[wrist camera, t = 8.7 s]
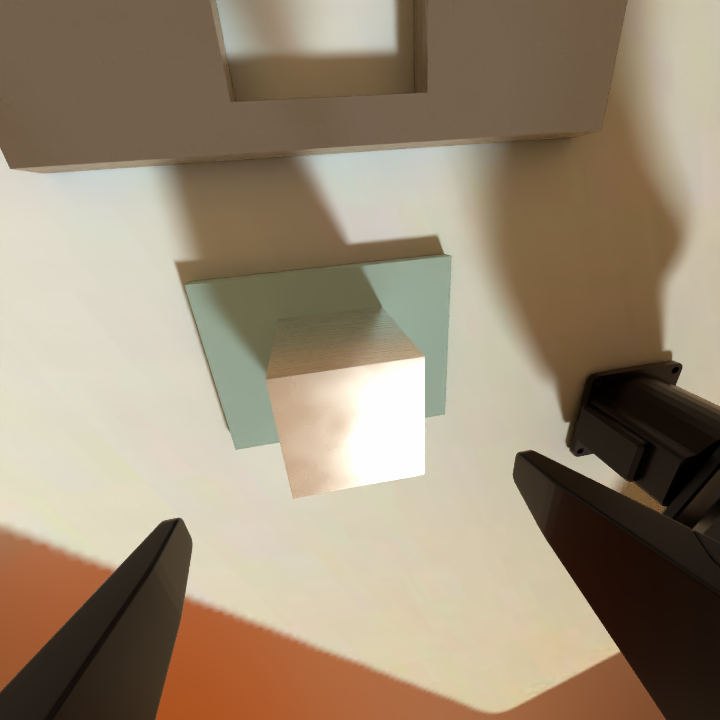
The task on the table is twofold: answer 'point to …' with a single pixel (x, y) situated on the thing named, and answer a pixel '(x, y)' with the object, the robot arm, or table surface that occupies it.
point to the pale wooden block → (346, 400)
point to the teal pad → (311, 297)
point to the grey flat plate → (287, 116)
